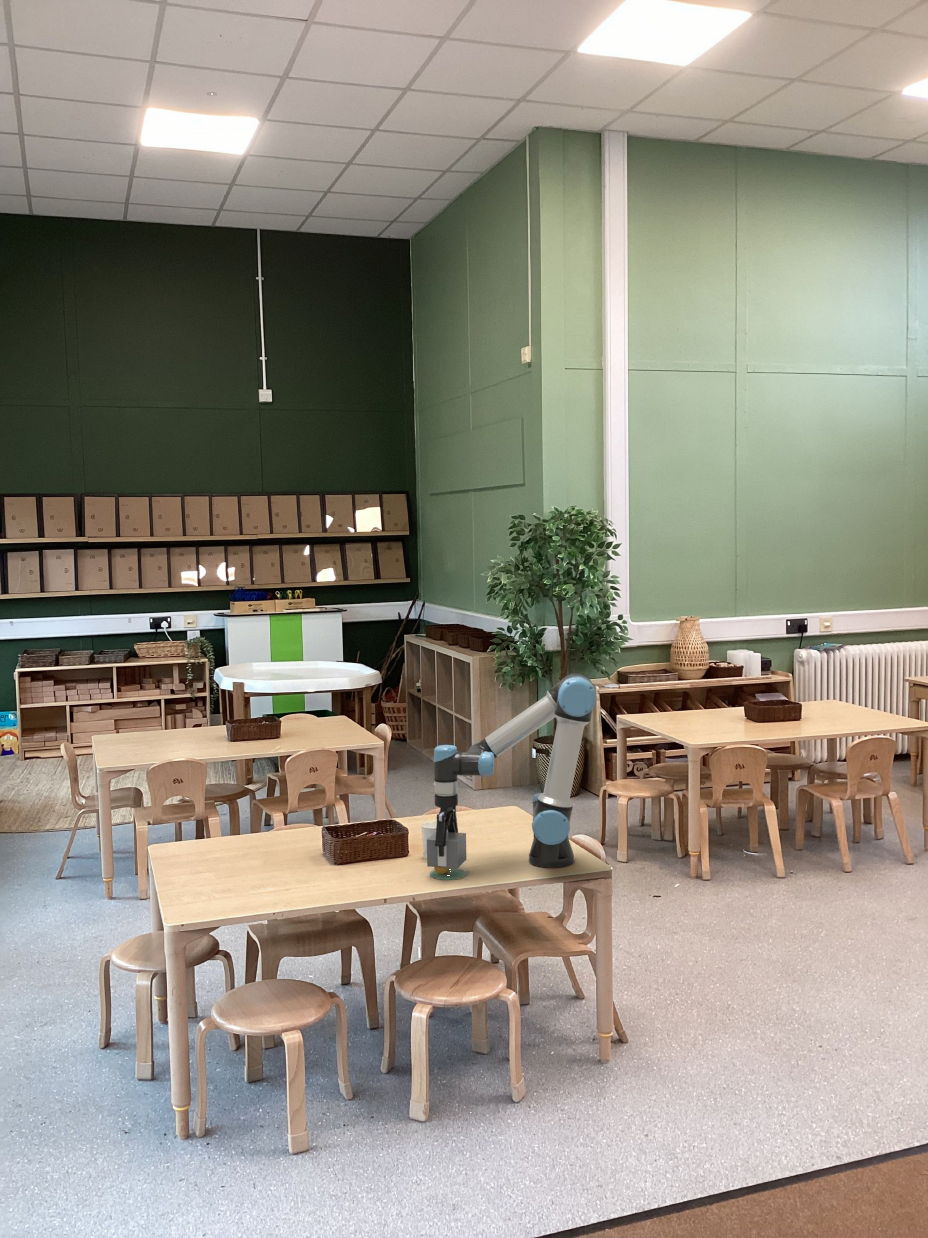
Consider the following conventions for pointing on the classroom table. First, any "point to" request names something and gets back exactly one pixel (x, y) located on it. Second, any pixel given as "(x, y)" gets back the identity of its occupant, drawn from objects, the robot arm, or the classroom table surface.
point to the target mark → (453, 874)
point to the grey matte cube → (448, 850)
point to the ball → (441, 870)
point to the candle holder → (428, 833)
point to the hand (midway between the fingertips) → (447, 861)
